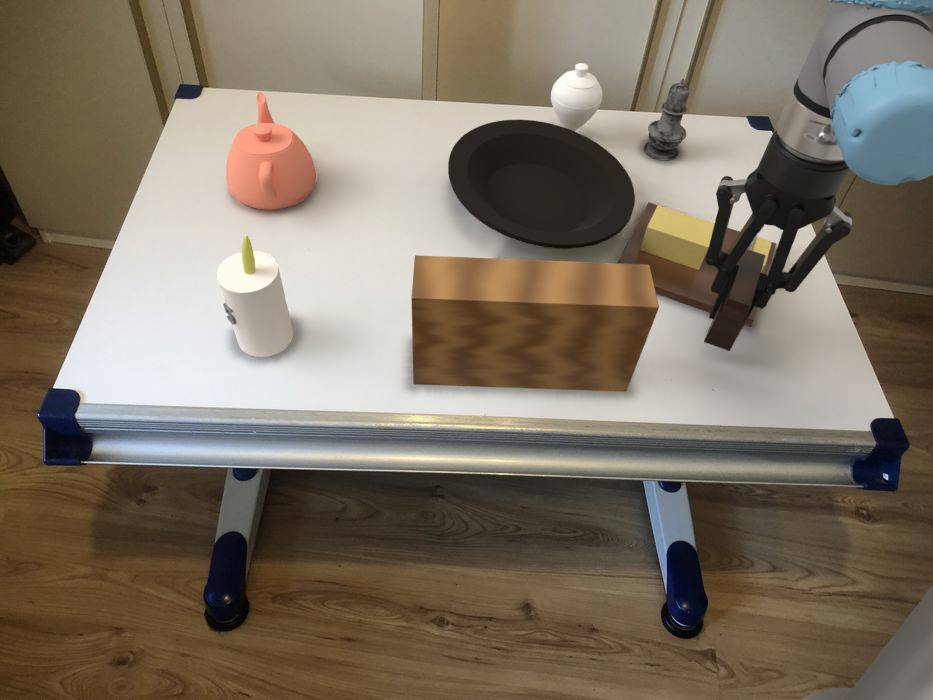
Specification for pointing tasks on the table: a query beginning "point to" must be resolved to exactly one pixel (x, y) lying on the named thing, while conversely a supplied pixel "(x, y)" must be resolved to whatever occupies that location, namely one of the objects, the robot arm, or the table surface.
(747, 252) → the brown and grey bar
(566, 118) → the spinning top
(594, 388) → the wood grain block
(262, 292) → the candle
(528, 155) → the plate
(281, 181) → the teapot
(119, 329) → the table surface
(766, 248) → the butter slice
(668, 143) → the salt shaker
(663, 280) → the board
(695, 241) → the butter block
